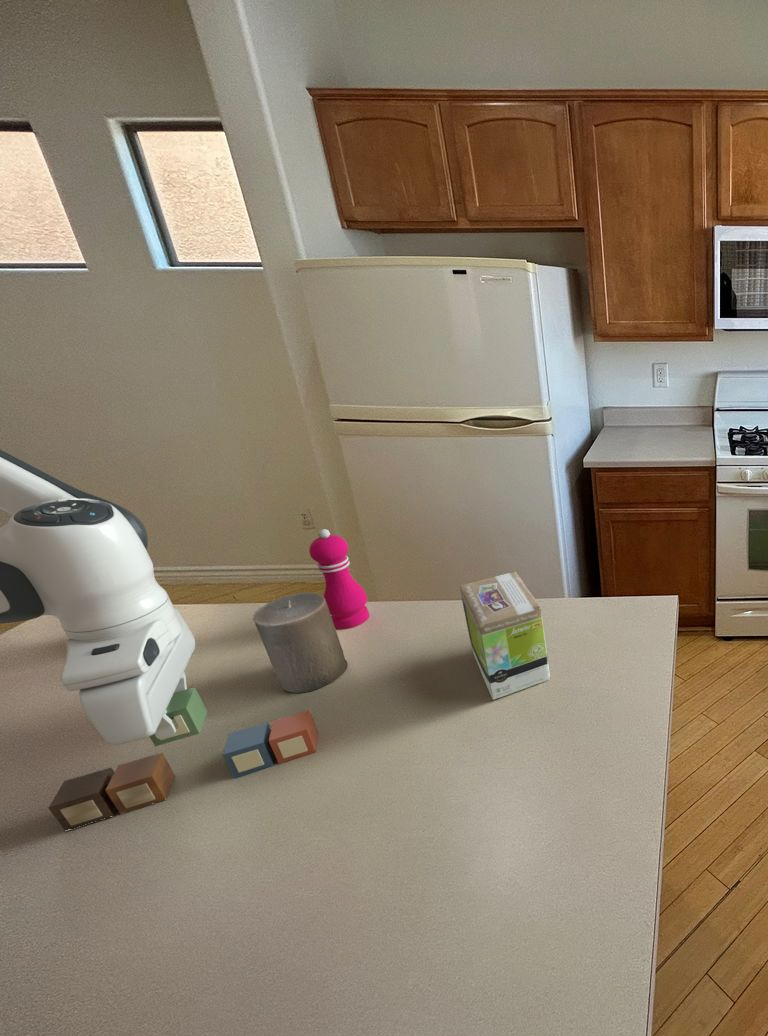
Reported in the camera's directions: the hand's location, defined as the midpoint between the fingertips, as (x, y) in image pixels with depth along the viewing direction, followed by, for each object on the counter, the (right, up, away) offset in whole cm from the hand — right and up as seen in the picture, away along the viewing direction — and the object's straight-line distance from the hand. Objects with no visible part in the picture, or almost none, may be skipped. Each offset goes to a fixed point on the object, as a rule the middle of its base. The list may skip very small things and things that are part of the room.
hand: (175, 718), depth 71 cm
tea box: (+34, 0, +26) cm, 43 cm away
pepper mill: (-3, +6, +39) cm, 39 cm away
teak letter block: (-5, -11, +2) cm, 12 cm away
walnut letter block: (-9, -12, -1) cm, 15 cm away
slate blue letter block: (+5, -8, +7) cm, 12 cm away
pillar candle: (+1, -1, +24) cm, 24 cm away
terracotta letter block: (+9, -7, +9) cm, 15 cm away
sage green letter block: (0, -2, +1) cm, 2 cm away
